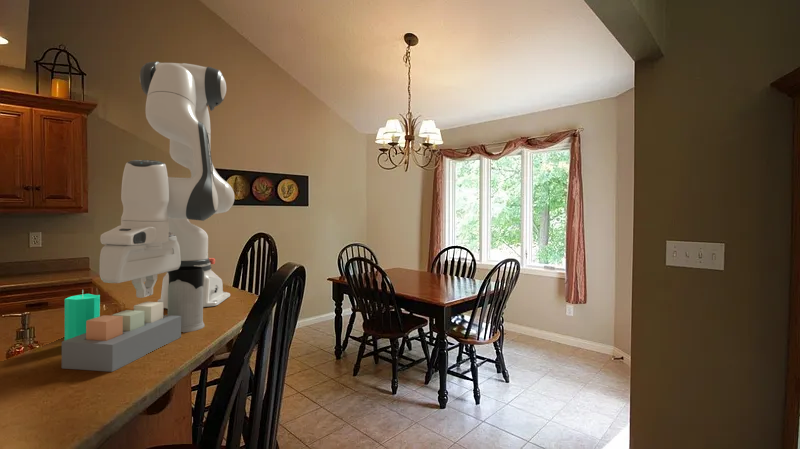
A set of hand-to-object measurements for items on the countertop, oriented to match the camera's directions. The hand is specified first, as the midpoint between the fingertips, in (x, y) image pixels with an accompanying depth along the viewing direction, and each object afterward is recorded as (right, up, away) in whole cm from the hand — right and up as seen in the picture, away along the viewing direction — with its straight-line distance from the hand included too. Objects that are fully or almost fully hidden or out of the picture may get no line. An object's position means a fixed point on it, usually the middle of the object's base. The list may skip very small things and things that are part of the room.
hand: (144, 296), depth 87 cm
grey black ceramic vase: (+2, -10, +15) cm, 19 cm away
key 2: (0, -8, +1) cm, 8 cm away
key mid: (-1, -9, -5) cm, 10 cm away
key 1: (-1, -8, -11) cm, 13 cm away
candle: (-12, -10, -2) cm, 16 cm away
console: (-1, -11, -4) cm, 12 cm away
